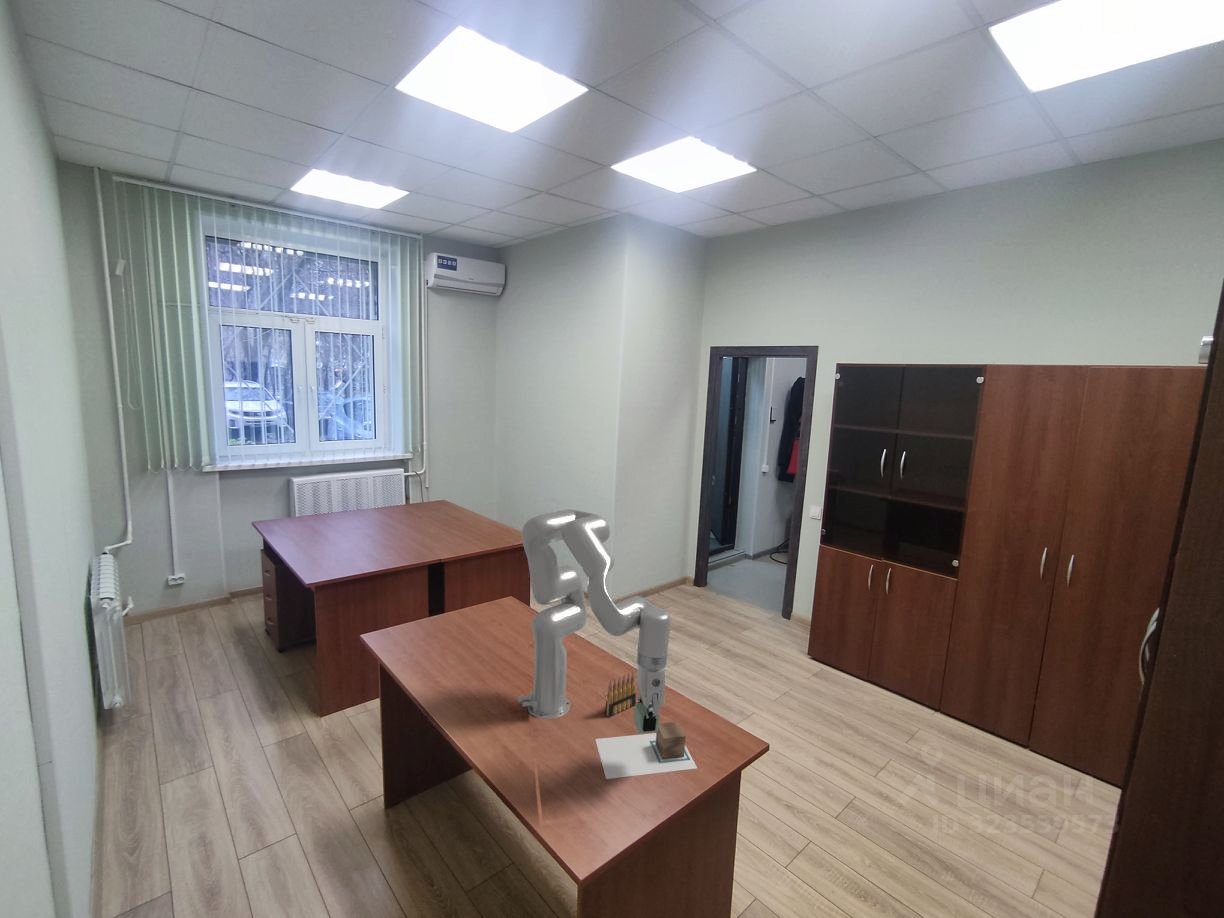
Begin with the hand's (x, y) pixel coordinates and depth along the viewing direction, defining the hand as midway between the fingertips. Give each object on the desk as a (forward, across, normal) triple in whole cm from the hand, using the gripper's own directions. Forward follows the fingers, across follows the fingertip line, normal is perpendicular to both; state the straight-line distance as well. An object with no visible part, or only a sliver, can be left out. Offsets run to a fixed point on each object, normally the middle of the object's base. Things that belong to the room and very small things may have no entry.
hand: (645, 722), depth 135 cm
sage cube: (+1, 0, 0) cm, 1 cm away
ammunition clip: (+14, +23, 0) cm, 27 cm away
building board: (+13, +4, -2) cm, 13 cm away
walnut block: (+12, +4, -9) cm, 15 cm away
